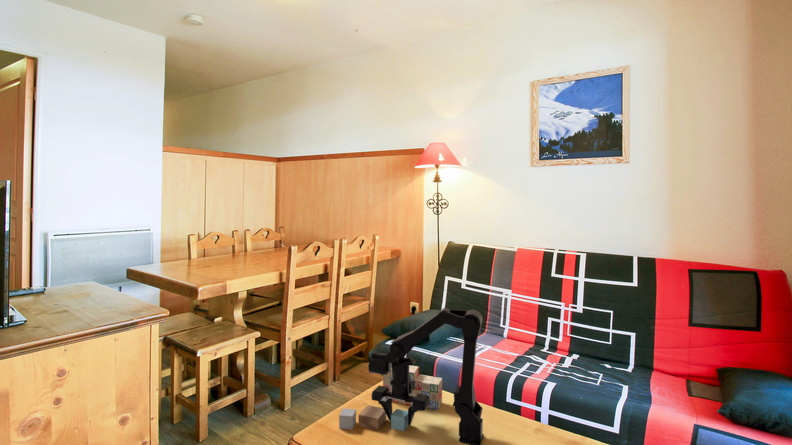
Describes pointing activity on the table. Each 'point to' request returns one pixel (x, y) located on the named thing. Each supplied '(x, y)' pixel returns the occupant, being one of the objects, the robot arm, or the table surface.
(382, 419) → the walnut block
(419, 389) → the stack of blocks
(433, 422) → the table surface
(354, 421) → the light grey cube
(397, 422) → the teal cube
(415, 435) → the table surface
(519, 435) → the table surface
